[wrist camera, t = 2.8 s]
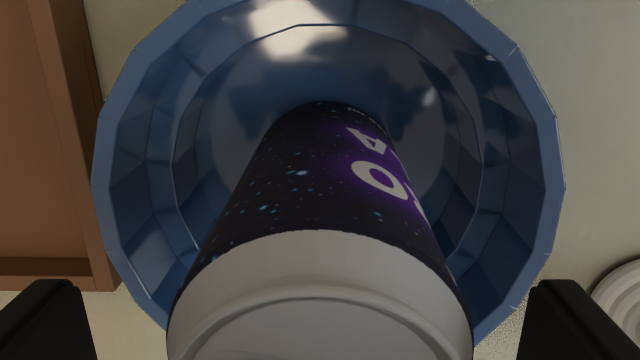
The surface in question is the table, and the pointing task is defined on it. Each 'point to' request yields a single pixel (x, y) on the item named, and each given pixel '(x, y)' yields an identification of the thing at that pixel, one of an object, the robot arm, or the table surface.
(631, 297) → the chess piece
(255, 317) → the beverage can
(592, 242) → the table surface
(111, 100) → the bowl
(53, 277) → the tray
